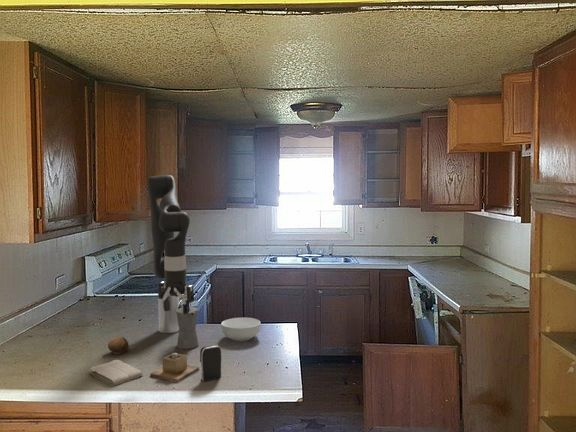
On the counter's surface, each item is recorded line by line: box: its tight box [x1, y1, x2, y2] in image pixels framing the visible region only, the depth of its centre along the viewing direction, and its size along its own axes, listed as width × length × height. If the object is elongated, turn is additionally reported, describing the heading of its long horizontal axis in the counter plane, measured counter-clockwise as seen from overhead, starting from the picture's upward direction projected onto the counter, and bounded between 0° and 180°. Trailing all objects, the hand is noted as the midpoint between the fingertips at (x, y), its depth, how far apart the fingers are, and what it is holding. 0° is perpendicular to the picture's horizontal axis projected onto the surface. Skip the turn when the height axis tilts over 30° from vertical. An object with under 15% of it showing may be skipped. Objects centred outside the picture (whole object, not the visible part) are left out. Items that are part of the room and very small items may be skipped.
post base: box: [150, 352, 200, 383], centre depth 180 cm, size 12×12×7 cm
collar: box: [162, 353, 188, 375], centre depth 180 cm, size 6×6×5 cm
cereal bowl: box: [220, 317, 261, 342], centre depth 218 cm, size 17×17×7 cm
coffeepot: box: [176, 304, 199, 350], centre depth 210 cm, size 15×9×18 cm, turn 33°
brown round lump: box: [107, 336, 129, 355], centre depth 202 cm, size 8×8×6 cm
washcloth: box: [88, 359, 144, 386], centre depth 179 cm, size 12×18×3 cm, turn 50°
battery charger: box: [199, 344, 222, 382], centre depth 176 cm, size 7×4×11 cm, turn 121°
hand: (176, 312), depth 181 cm, fingers open, 8 cm apart
